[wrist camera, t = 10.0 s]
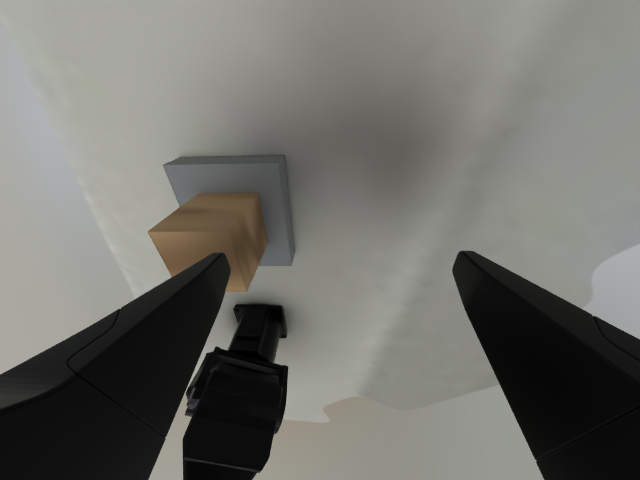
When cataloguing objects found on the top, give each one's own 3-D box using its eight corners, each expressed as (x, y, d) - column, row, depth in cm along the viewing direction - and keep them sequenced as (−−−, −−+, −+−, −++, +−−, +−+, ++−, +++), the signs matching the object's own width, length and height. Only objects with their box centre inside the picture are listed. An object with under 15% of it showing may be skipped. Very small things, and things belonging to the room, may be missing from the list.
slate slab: (295, 248, 25) (291, 265, 22) (216, 247, 25) (203, 264, 23) (285, 153, 19) (278, 163, 17) (184, 155, 20) (162, 165, 17)
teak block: (268, 243, 21) (246, 291, 16) (216, 243, 21) (179, 290, 16) (257, 192, 18) (227, 231, 13) (198, 193, 18) (147, 231, 14)
